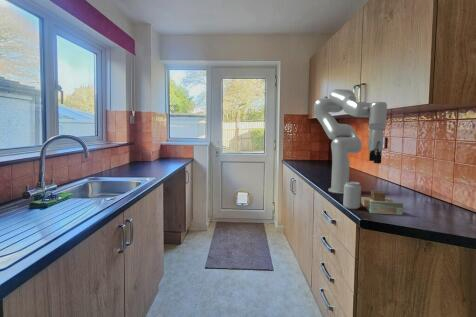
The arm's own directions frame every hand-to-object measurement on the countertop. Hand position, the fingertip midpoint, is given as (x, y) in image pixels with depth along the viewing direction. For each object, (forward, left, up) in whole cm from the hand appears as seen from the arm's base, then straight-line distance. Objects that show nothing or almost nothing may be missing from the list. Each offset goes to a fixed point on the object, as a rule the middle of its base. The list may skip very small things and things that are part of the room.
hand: (374, 162), depth 152 cm
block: (+8, 0, -17) cm, 19 cm away
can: (+14, -13, -21) cm, 28 cm away
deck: (+13, 0, -20) cm, 24 cm away
